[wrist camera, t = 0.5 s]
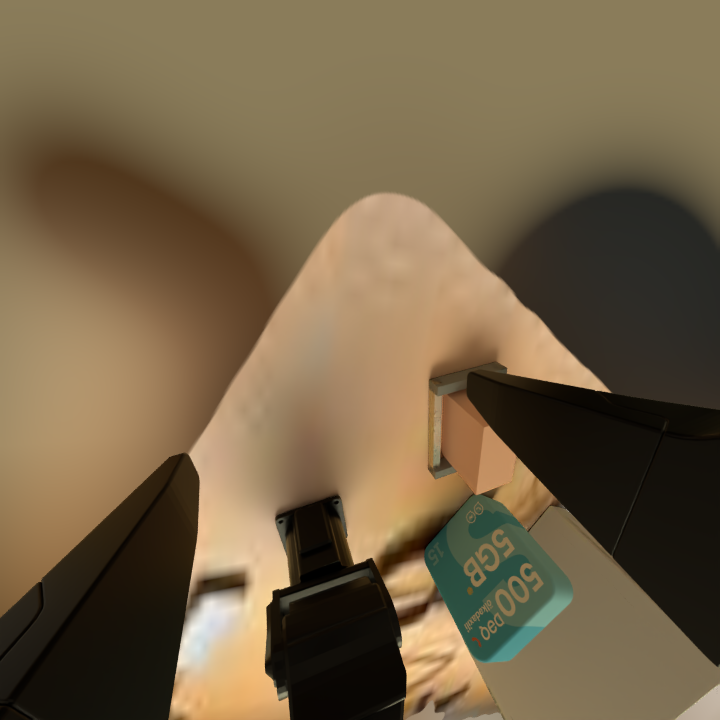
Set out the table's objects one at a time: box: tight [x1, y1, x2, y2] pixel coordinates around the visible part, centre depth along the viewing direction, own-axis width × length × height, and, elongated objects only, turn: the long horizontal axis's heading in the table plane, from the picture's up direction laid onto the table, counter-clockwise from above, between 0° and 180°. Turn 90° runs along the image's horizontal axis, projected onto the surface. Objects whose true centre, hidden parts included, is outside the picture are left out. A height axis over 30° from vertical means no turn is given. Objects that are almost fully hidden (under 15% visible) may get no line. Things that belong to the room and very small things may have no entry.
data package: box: [424, 494, 573, 663], centre depth 34 cm, size 12×4×12 cm, turn 142°
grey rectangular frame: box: [428, 362, 507, 479], centre depth 30 cm, size 12×8×2 cm, turn 5°
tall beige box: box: [441, 389, 516, 495], centre depth 29 cm, size 8×4×6 cm, turn 5°
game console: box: [462, 506, 720, 720], centre depth 41 cm, size 6×27×20 cm, turn 150°
